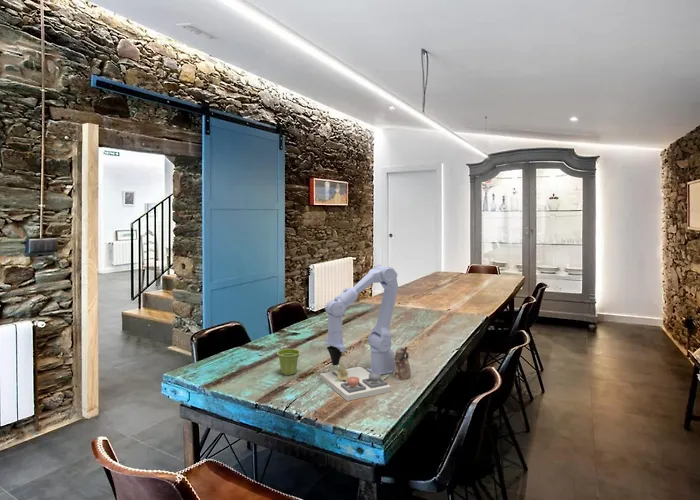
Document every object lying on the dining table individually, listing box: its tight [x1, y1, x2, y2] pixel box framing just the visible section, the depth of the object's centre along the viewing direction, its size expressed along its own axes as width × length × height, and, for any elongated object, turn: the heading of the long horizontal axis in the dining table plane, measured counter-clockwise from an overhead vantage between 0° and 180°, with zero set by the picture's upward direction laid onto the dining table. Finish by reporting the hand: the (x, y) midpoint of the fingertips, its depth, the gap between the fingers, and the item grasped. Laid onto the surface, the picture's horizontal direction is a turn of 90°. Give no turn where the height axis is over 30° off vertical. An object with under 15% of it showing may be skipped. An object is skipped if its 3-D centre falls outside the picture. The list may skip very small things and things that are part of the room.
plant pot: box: [276, 348, 301, 376], centre depth 179 cm, size 9×9×9 cm
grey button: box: [369, 372, 382, 382], centre depth 162 cm, size 4×4×2 cm
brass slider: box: [336, 364, 348, 381], centre depth 165 cm, size 3×3×5 cm
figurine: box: [392, 346, 411, 381], centre depth 174 cm, size 7×7×12 cm
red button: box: [347, 377, 359, 386], centre depth 158 cm, size 4×4×2 cm
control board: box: [319, 366, 392, 402], centre depth 166 cm, size 18×24×3 cm
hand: (335, 364), depth 171 cm, fingers closed
